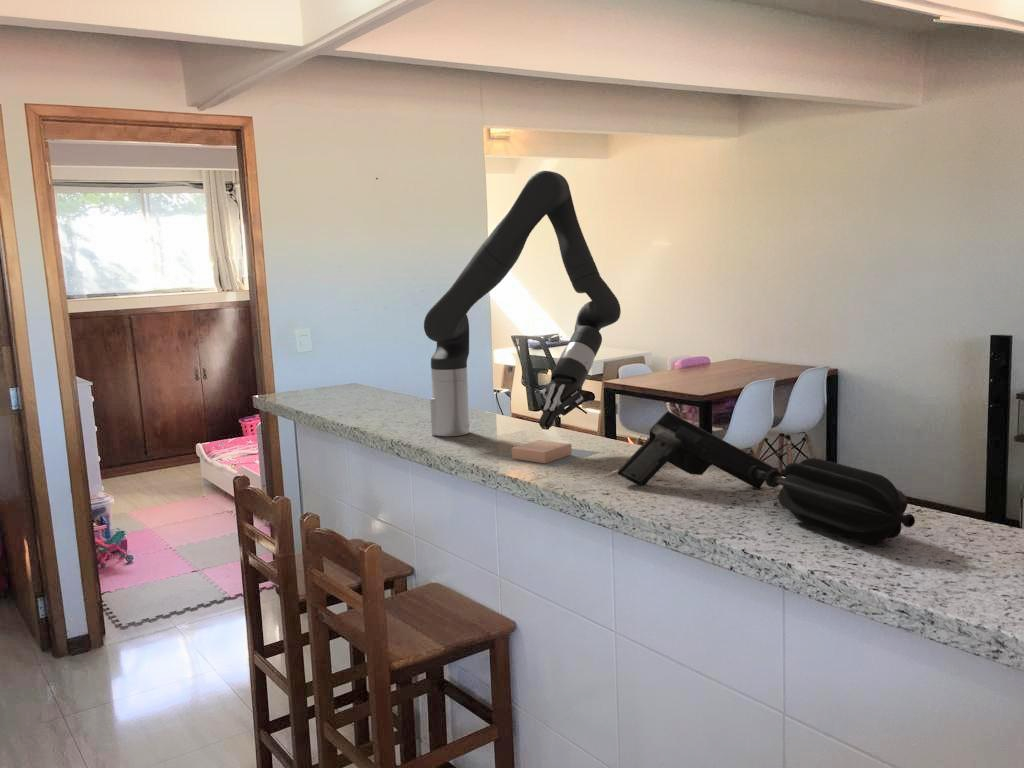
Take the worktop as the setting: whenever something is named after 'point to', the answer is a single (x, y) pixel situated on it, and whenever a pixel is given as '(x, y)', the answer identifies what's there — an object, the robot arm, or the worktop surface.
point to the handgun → (687, 453)
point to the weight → (840, 499)
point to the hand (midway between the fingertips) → (543, 427)
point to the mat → (575, 456)
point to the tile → (541, 451)
